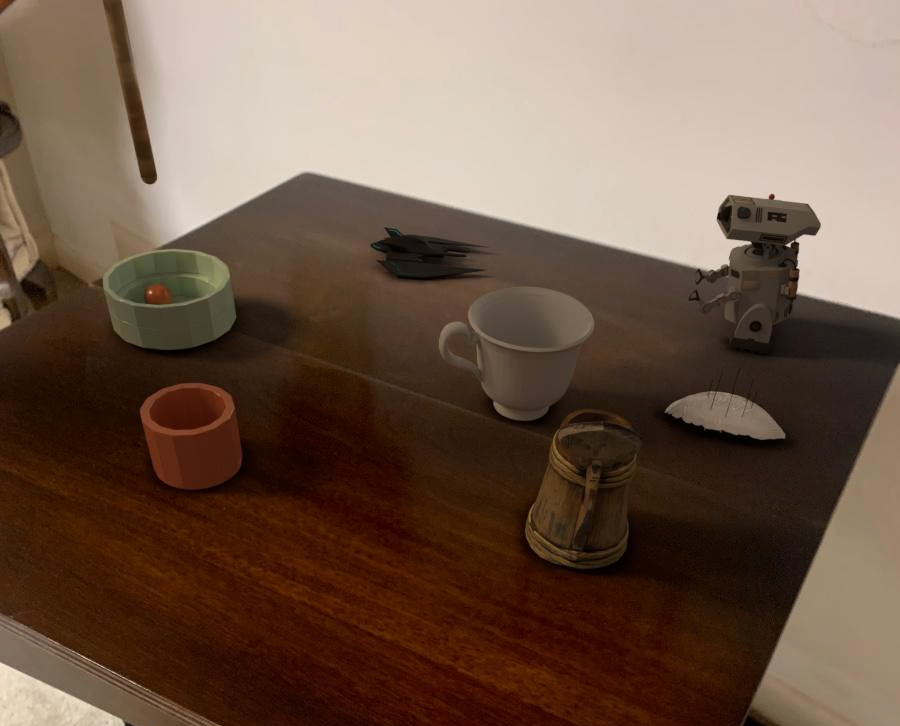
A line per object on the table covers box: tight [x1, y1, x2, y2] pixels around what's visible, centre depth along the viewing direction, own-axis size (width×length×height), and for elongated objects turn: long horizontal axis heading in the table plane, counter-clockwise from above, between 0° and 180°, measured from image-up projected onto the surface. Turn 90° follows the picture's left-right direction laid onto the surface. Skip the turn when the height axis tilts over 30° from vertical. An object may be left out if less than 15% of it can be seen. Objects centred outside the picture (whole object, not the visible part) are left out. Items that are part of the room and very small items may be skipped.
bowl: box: [102, 248, 237, 351], centre depth 97 cm, size 13×13×6 cm
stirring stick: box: [102, 0, 158, 186], centre depth 76 cm, size 2×2×20 cm
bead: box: [144, 285, 173, 305], centre depth 99 cm, size 3×3×3 cm
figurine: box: [688, 193, 822, 355], centre depth 98 cm, size 9×12×15 cm
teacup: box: [438, 285, 595, 422], centre depth 87 cm, size 12×15×10 cm
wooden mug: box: [524, 408, 644, 571], centre depth 69 cm, size 9×14×18 cm, turn 169°
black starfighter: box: [370, 226, 490, 280], centre depth 112 cm, size 11×15×3 cm
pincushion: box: [664, 367, 786, 441], centre depth 88 cm, size 12×6×6 cm, turn 69°
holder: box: [139, 382, 243, 491], centre depth 80 cm, size 8×8×6 cm
